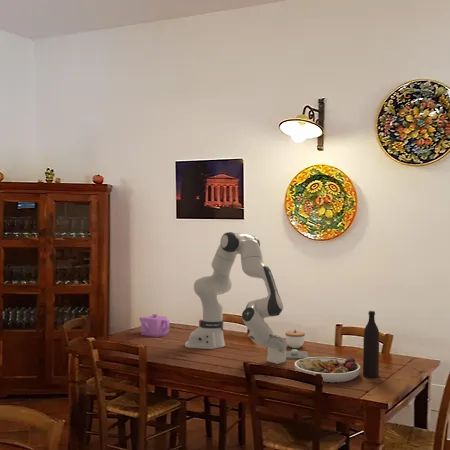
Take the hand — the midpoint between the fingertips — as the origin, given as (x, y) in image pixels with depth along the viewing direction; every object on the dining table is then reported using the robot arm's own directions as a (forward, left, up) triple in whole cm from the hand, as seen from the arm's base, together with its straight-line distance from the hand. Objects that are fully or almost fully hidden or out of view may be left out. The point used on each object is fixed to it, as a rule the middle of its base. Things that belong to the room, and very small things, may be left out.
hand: (276, 350), depth 304 cm
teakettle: (-71, +60, -6) cm, 93 cm away
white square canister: (0, 0, -6) cm, 6 cm away
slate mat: (+10, +12, -6) cm, 17 cm away
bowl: (+22, -23, -6) cm, 32 cm away
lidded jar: (+12, +33, -6) cm, 36 cm away
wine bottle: (+42, -24, -6) cm, 49 cm away
